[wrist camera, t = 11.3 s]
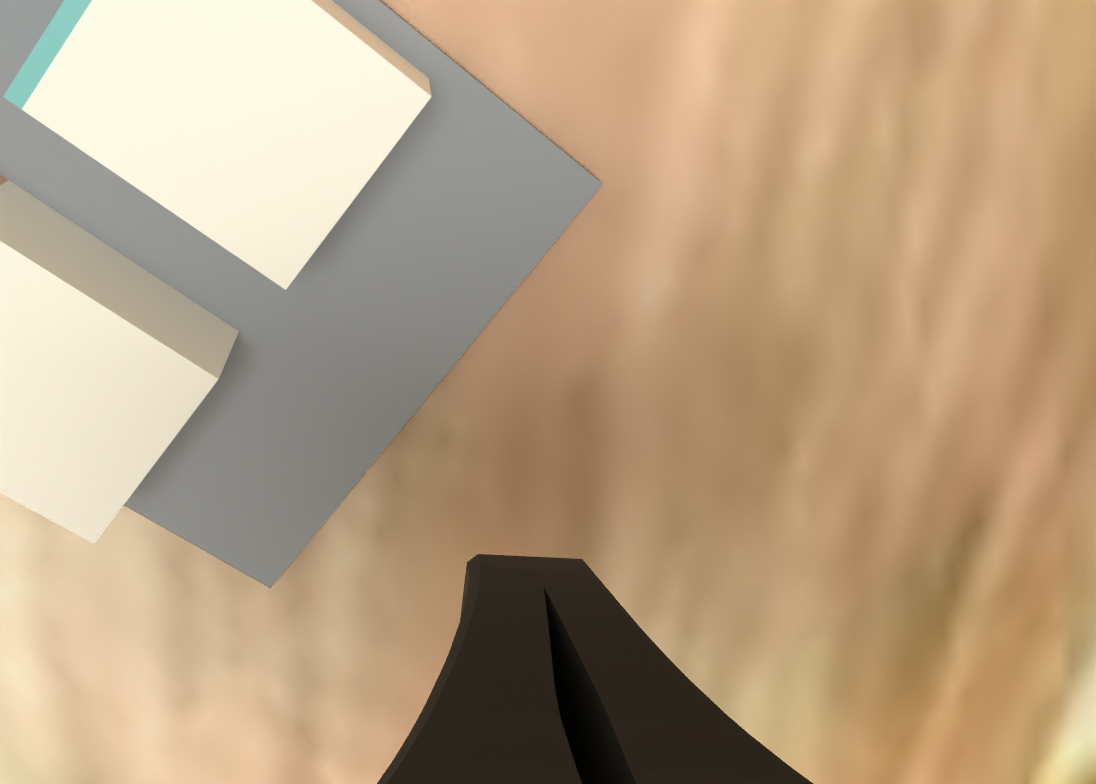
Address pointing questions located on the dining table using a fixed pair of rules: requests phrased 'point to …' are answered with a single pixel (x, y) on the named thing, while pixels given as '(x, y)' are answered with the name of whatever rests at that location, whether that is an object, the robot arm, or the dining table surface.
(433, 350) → the mat
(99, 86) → the slab
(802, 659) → the dining table surface
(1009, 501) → the dining table surface
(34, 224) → the slab
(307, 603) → the dining table surface
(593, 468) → the dining table surface
